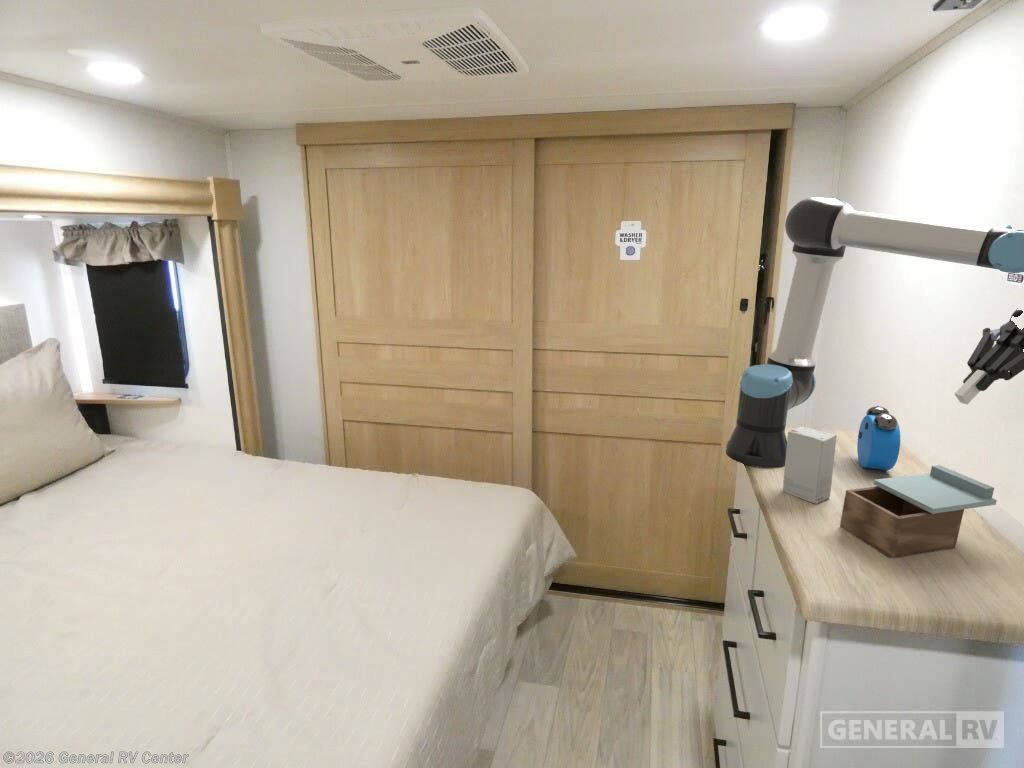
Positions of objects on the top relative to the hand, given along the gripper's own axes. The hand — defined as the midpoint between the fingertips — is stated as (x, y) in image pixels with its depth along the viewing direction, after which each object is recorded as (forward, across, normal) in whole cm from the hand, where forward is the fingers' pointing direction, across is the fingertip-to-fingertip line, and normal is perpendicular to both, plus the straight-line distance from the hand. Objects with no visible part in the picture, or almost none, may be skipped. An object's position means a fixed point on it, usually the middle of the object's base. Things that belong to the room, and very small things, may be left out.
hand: (960, 399), depth 115 cm
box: (+28, -4, -8) cm, 30 cm away
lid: (+18, -4, -7) cm, 19 cm away
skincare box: (+31, +16, -6) cm, 36 cm away
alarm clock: (+12, +25, -25) cm, 38 cm away
